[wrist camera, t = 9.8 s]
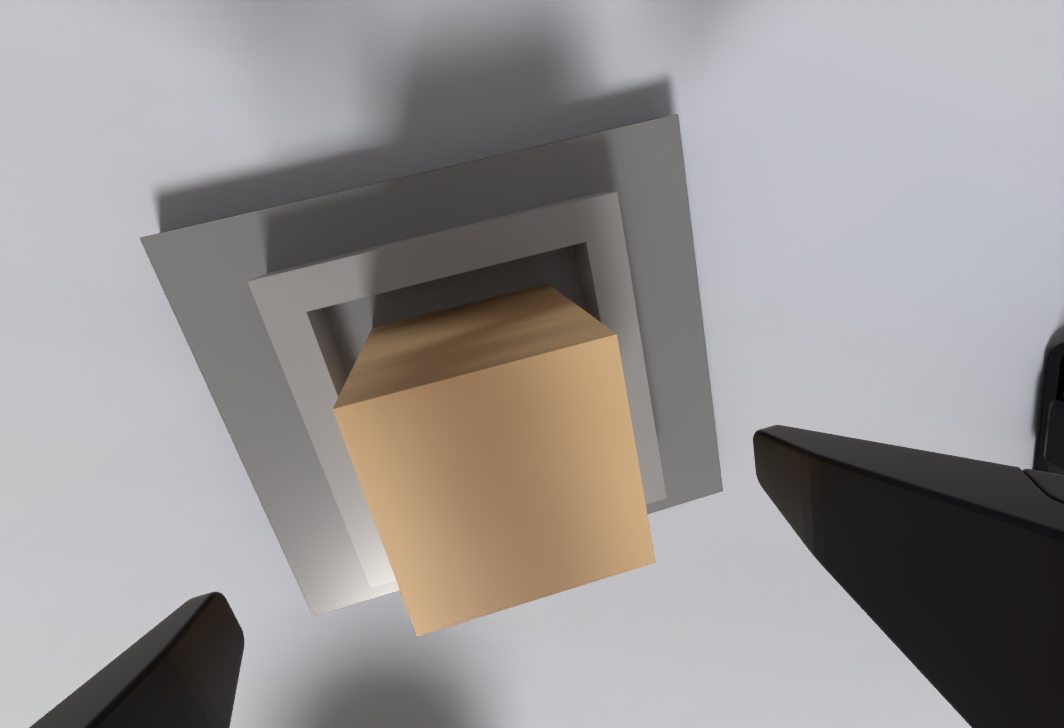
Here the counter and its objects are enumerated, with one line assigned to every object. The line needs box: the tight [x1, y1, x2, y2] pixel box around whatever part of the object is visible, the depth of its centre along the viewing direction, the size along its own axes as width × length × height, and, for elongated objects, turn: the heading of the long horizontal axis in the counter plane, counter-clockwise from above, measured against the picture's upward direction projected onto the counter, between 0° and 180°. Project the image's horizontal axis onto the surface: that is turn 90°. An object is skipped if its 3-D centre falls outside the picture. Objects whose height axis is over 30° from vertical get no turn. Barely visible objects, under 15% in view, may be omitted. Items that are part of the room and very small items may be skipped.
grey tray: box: [140, 114, 723, 616], centre depth 15 cm, size 14×12×2 cm
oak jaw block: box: [332, 284, 655, 636], centre depth 13 cm, size 5×5×6 cm
